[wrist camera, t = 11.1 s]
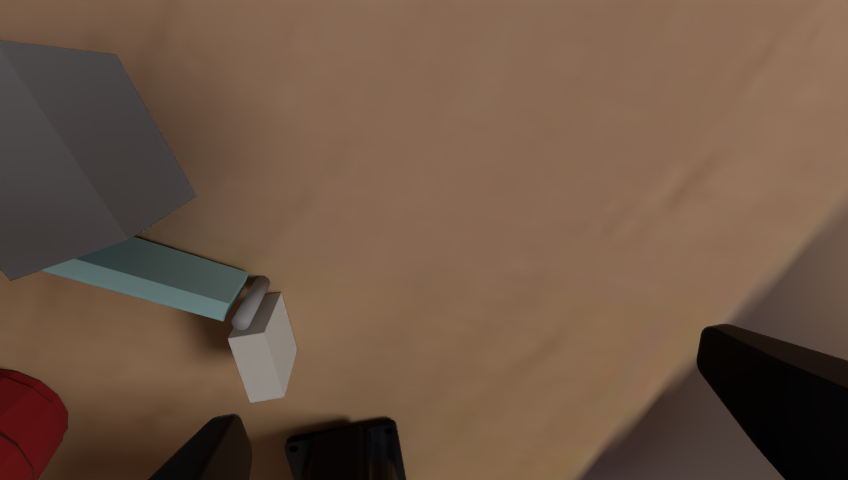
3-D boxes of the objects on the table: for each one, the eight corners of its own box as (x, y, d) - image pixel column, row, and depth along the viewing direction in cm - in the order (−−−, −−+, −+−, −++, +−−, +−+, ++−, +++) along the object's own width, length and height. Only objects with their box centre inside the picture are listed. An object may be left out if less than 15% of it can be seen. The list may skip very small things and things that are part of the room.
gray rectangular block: (197, 195, 18) (129, 239, 13) (112, 224, 18) (9, 281, 13) (117, 54, 15) (-7, 39, 10) (19, 88, 15) (-151, 89, 10)
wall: (297, 349, 21) (283, 398, 18) (268, 354, 21) (249, 404, 18) (113, -313, 12) (15, -466, 9) (61, -311, 12) (-59, -466, 9)
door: (248, 272, 19) (229, 303, 16) (237, 305, 19) (216, 340, 17) (-147, 148, 15) (-258, 162, 12) (-147, 193, 16) (-254, 216, 13)
